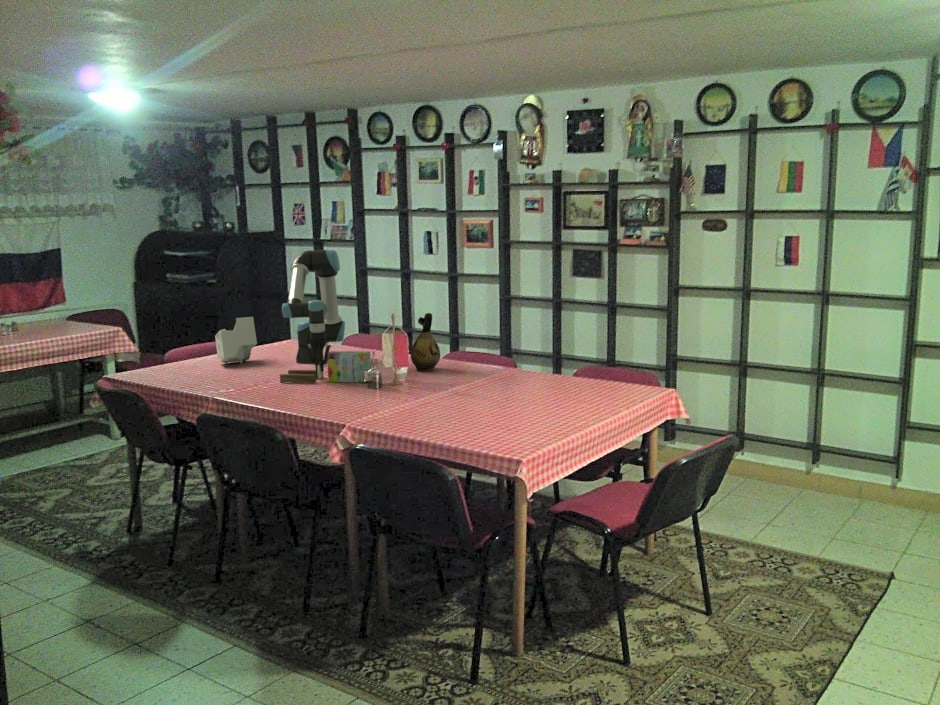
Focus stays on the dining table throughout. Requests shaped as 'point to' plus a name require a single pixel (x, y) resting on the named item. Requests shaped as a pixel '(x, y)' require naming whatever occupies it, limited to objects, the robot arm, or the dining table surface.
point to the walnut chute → (300, 376)
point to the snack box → (348, 365)
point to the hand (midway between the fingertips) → (320, 377)
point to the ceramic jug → (425, 347)
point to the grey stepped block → (236, 341)
